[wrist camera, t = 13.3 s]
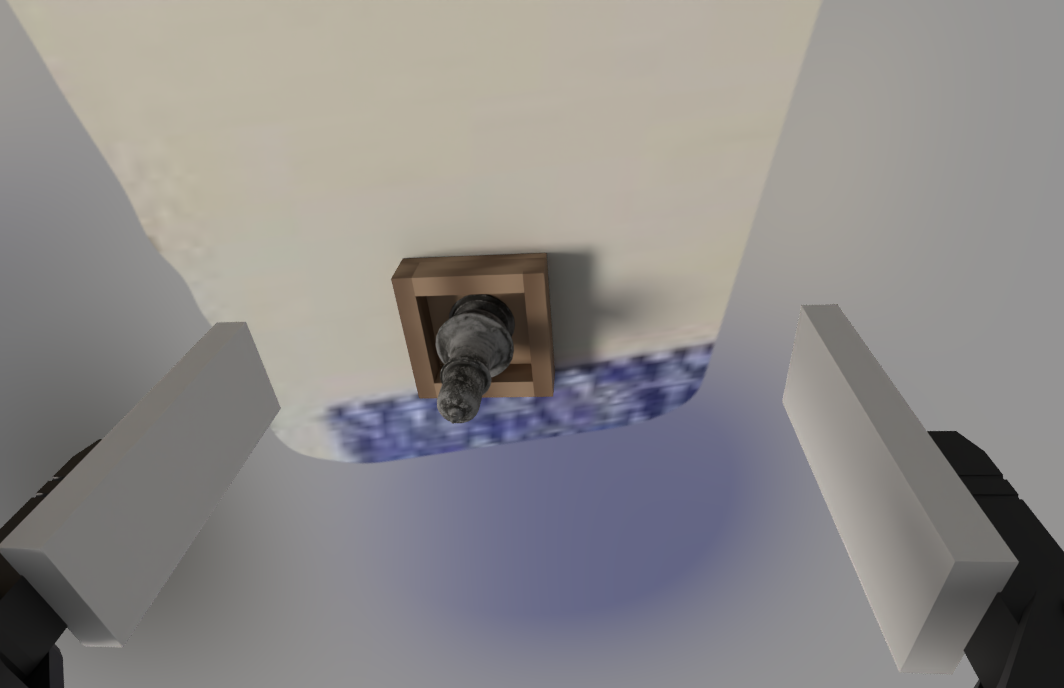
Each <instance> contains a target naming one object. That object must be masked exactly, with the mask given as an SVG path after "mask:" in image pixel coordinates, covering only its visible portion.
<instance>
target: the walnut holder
mask: <svg viewBox="0 0 1064 688" xmlns="http://www.w3.org/2000/svg"><path fill="white" fill-rule="evenodd" d="M391 280H392V284H393V289H394V293H395V297H396V301H397V306H398V310H399V314H400V318H401V323H402V327H403V331H404V335H405V340H406V344H407V348H408V352H409V357H410V361H411V365H412V370H413V374H414V378H415V382H416V387H417V391H418V395H419V398H438V395H439V392H440V389H441V386H442V383H441V379H440V372H441V369H442V367H443V365H444V363H443V362H442V361H441V359H440V357H439V355H438V353H437V349H436V336H437V333H438V331H439V329H440V327H441V326H442V325H443V324H444V323H445V321H447V320H448V319H449V313H450V311H451V309H452V306H453V305H454V304H455V303H456V302H457V301H458V300H459V299H461V298H463V297H464V296H467V295H472V294H487V295H491V296H493V297H496V298H498V299H500V300H501V301H502V302H504V303H505V304H506V305H507V306H508V308H509V309H510V310H511V312H512V314H513V316H514V321H515V328H514V333H513V335H512V337H511V338H512V340H513V345H514V353H513V359H512V361H511V362H510V364H509V366H508V367H507V368H506V369H505V370H504V371H503V372H502V373H500V374H498V375H496V376H494V377H491V385H490V387H489V389H488V391H487V392H486V393H485V394H484V395H482V397H549V396H553V392H554V378H555V366H554V352H553V338H552V324H551V310H550V296H549V282H548V268H547V254H546V253H532V254H507V255H482V256H457V257H433V258H408V259H402V261H401V263H400V265H399V266H398V268H397V270H396V271H395V273H394V275H393V277H392V278H391Z"/></svg>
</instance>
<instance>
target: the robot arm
mask: <svg viewBox="0 0 1064 688" xmlns="http://www.w3.org/2000/svg"><path fill="white" fill-rule="evenodd" d="M782 402H783V404H784V407H785V409H786V411H787V413H788V416H789V418H790V421H791V423H792V425H793V427H794V430H795V432H796V434H797V436H798V439H799V441H800V443H801V446H802V448H803V451H804V453H805V455H806V457H807V460H808V462H809V464H810V467H811V469H812V471H813V474H814V476H815V478H816V480H817V483H818V485H819V488H820V490H821V492H822V494H823V497H824V499H825V501H826V504H827V506H828V508H829V510H830V513H831V515H832V518H833V520H834V522H835V525H836V527H837V529H838V531H839V534H840V536H841V538H842V541H843V543H844V545H845V548H846V550H847V552H848V554H849V557H850V559H851V562H852V564H853V566H854V568H855V571H856V573H857V575H858V578H859V580H860V582H861V585H862V587H863V589H864V591H865V594H866V596H867V599H868V601H869V603H870V605H871V608H872V610H873V612H874V615H875V617H876V619H877V622H878V624H879V626H880V628H881V631H882V633H883V635H884V638H885V640H886V642H887V645H888V647H889V649H890V652H891V654H892V656H893V659H894V661H895V663H896V666H897V668H898V670H899V672H900V673H926V674H953V672H954V671H955V669H956V667H957V666H958V664H959V662H960V660H961V659H962V657H963V655H964V654H966V656H967V658H968V660H969V661H970V663H971V665H972V667H973V669H974V671H975V672H976V674H977V676H978V678H979V680H978V682H977V684H976V685H975V687H974V688H1064V551H1063V550H1062V549H1061V548H1060V547H1059V545H1058V544H1057V543H1056V541H1055V540H1054V539H1053V538H1052V536H1051V535H1050V534H1049V533H1048V531H1047V530H1046V529H1045V527H1044V526H1043V525H1042V524H1041V522H1040V521H1039V520H1038V519H1037V517H1036V516H1035V515H1034V513H1033V512H1032V511H1031V510H1030V508H1029V507H1028V506H1027V505H1026V503H1025V502H1024V501H1023V500H1022V499H1019V498H1018V494H1017V492H1016V491H1015V490H1014V488H1013V487H1012V486H1011V484H1010V483H1009V482H1008V481H1007V480H1004V479H1003V474H1002V473H1001V472H1000V470H999V469H998V468H997V467H996V465H995V464H994V463H993V462H992V460H991V459H990V458H989V457H988V455H987V454H986V453H985V451H983V450H982V449H980V448H979V447H978V446H976V445H975V444H973V443H972V442H971V441H969V440H968V439H966V438H965V437H964V436H962V435H961V434H959V433H958V432H957V431H926V430H925V428H924V427H923V425H922V424H921V422H920V421H919V419H918V418H917V417H916V415H915V414H914V412H913V411H912V410H911V408H910V407H909V405H908V404H907V403H906V401H905V400H904V398H903V397H902V395H901V394H900V392H899V391H898V390H897V388H896V387H895V386H894V384H893V383H892V381H891V380H890V378H889V377H888V375H887V374H886V373H885V371H884V370H883V368H882V367H881V366H880V364H879V363H878V361H877V360H876V358H875V357H874V356H873V354H872V353H871V351H870V350H869V348H868V347H867V346H866V344H865V343H864V341H863V340H862V339H861V337H860V336H859V334H858V333H857V332H856V330H855V329H854V327H853V326H852V325H851V323H850V321H849V320H848V319H847V317H846V316H845V315H844V313H843V312H842V310H841V309H840V307H839V306H838V304H832V305H831V304H830V305H801V310H800V315H799V320H798V325H797V330H796V335H795V340H794V345H793V350H792V355H791V361H790V365H789V370H788V376H787V381H786V386H785V391H784V396H783V401H782ZM280 409H281V407H280V405H279V403H278V400H277V398H276V395H275V393H274V390H273V388H272V385H271V383H270V380H269V378H268V375H267V373H266V370H265V368H264V365H263V363H262V360H261V358H260V356H259V353H258V351H257V348H256V346H255V343H254V341H253V338H252V336H251V333H250V331H249V328H248V326H247V323H246V322H222V323H216V324H215V325H214V326H213V327H212V328H211V329H210V330H209V331H208V332H207V333H206V334H205V335H204V336H203V337H202V338H201V339H200V340H199V341H198V342H197V343H196V344H195V345H194V346H193V347H192V348H191V349H190V350H189V351H188V352H187V353H186V354H185V356H184V357H183V358H182V359H181V360H180V361H179V362H178V363H177V364H176V365H175V366H174V367H173V368H172V369H171V370H170V371H169V372H168V373H167V374H166V375H165V376H164V377H163V378H162V379H161V380H160V381H159V382H158V383H157V384H156V385H155V386H154V387H153V388H152V389H151V390H150V391H149V392H148V393H147V394H146V395H145V396H144V397H143V398H142V399H141V401H139V402H138V403H137V404H136V406H135V407H134V408H133V409H132V410H131V411H130V412H129V413H128V414H127V415H126V416H125V417H124V418H123V419H122V420H121V421H120V422H119V423H118V424H117V425H116V426H115V427H114V428H113V429H112V430H111V431H110V432H109V433H108V434H107V435H106V436H105V437H104V438H103V439H99V440H98V441H96V442H95V443H93V444H91V445H90V446H88V447H87V448H85V449H84V450H82V451H81V452H79V453H78V454H76V455H75V456H73V457H72V458H71V459H70V460H69V461H68V462H67V463H66V464H65V465H64V466H63V467H62V468H61V469H60V470H59V471H58V472H57V473H56V474H55V475H54V476H53V480H52V481H48V482H47V483H46V484H45V485H44V486H43V487H42V488H41V489H40V490H39V491H38V492H37V493H36V497H35V498H31V499H30V500H29V501H28V502H27V503H26V504H25V505H24V506H23V507H22V508H21V509H20V510H19V511H18V512H17V513H16V514H15V515H14V516H13V517H12V518H11V519H10V520H9V521H8V522H7V523H6V524H5V525H4V526H3V527H2V528H1V529H0V688H64V676H63V657H62V655H61V652H60V649H59V648H58V647H57V646H56V645H55V642H56V641H57V640H58V638H59V637H60V636H61V634H62V633H63V632H64V630H65V629H66V628H68V629H69V630H70V631H71V632H72V633H73V634H74V636H75V637H76V638H77V639H78V640H79V641H80V642H81V643H82V644H83V645H84V646H99V647H124V645H125V644H126V642H127V641H128V639H129V638H130V636H131V634H132V633H133V631H134V630H135V628H136V627H137V625H138V624H139V622H140V621H141V619H142V618H143V616H144V615H145V613H146V612H147V610H148V609H149V607H150V606H151V604H152V603H153V601H154V600H155V598H156V596H157V595H158V594H159V592H160V590H161V589H162V587H163V586H164V584H165V583H166V581H167V580H168V578H169V577H170V575H171V574H172V572H173V571H174V569H175V568H176V566H177V565H178V563H179V562H180V560H181V559H182V557H183V556H184V554H185V553H186V551H187V550H188V548H189V547H190V545H191V544H192V542H193V540H194V539H195V537H196V536H197V534H198V533H199V531H200V530H201V528H202V527H203V525H204V524H205V522H206V521H207V519H208V518H209V516H210V515H211V513H212V512H213V510H214V509H215V507H216V506H217V504H218V503H219V501H220V500H221V498H222V496H223V495H224V493H225V492H226V490H227V489H228V487H229V486H230V484H231V483H232V481H233V480H234V478H235V477H236V475H237V474H238V472H239V471H240V469H241V468H242V466H243V465H244V463H245V462H246V460H247V459H248V457H249V455H250V454H251V453H252V451H253V449H254V448H255V447H256V445H257V443H258V442H259V440H260V439H261V437H262V436H263V434H264V433H265V431H266V430H267V428H268V427H269V425H270V424H271V422H272V421H273V419H274V418H275V416H276V415H277V413H278V412H279V410H280Z"/></svg>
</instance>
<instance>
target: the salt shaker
mask: <svg viewBox="0 0 1064 688" xmlns="http://www.w3.org/2000/svg"><path fill="white" fill-rule="evenodd" d="M514 328H515V321H514V316H513V314H512V312H511V310H510V309H509V308H508V306H507V305H506V304H505V303H504V302H502V301H501V300H500V299H498V298H496V297H493V296H491V295H487V294H472V295H467V296H464V297H463V298H461V299H459V300H458V301H457V302H456V303H455V304H454V305H453V306H452V309H451V311H450V313H449V319H448V320H447V321H445V323H444V324H443V325H442V326H441V327H440V329H439V331H438V333H437V336H436V349H437V353H438V355H439V357H440V359H441V361H442V362H443V363H444V365H443V367H442V369H441V372H440V379H441V383H442V386H441V389H440V392H439V395H438V398H437V407H438V410H439V412H440V414H441V415H442V416H443V417H444V418H445V419H446V420H448V421H450V422H451V423H464V422H468V421H470V420H471V419H473V418H474V417H475V416H476V414H477V412H478V410H479V407H480V403H481V399H482V395H484V394H485V393H486V392H487V391H488V389H489V387H490V385H491V377H494V376H496V375H498V374H500V373H502V372H503V371H504V370H505V369H506V368H507V367H508V366H509V364H510V362H511V361H512V359H513V353H514V345H513V340H512V338H511V337H512V335H513V333H514Z"/></svg>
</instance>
